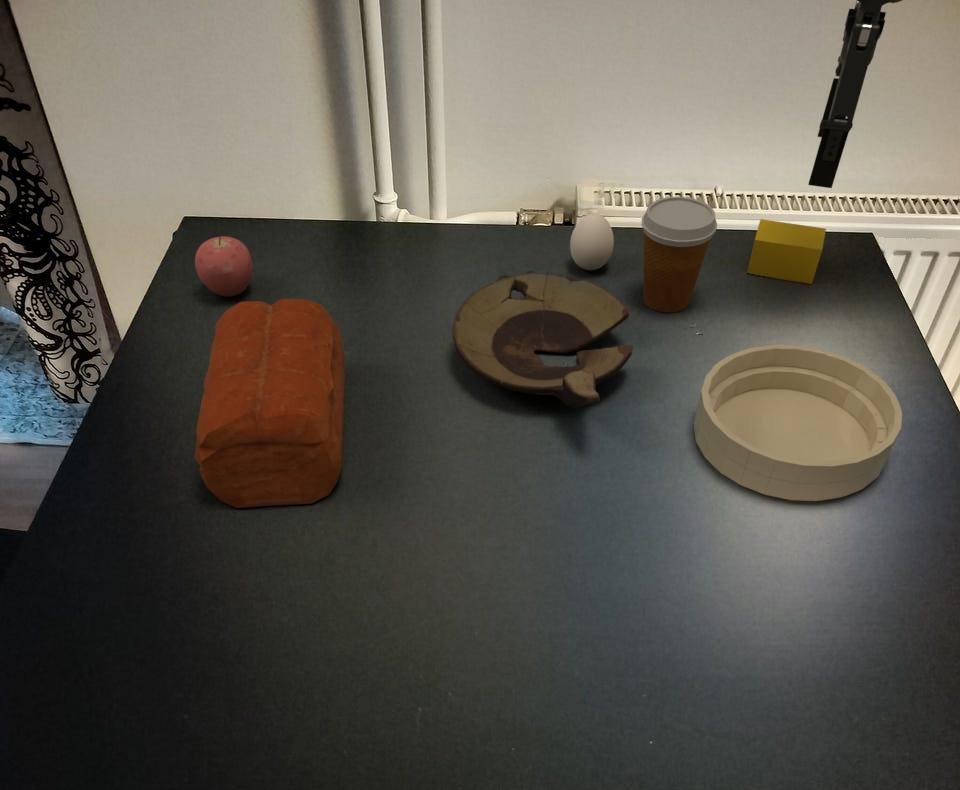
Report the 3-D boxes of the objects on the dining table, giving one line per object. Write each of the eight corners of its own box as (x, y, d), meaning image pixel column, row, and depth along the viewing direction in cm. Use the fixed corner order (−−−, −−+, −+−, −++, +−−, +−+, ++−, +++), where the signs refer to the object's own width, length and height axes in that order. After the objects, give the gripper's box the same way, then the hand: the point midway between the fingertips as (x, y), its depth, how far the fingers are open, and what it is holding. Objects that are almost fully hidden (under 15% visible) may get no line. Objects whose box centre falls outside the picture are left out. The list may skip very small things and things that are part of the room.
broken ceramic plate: (629, 310, 120) (636, 256, 114) (628, 456, 101) (637, 400, 95) (465, 302, 121) (464, 248, 115) (435, 444, 103) (431, 388, 97)
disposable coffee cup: (624, 312, 119) (635, 225, 110) (639, 276, 125) (651, 190, 116) (694, 325, 117) (712, 236, 108) (707, 287, 123) (725, 200, 114)
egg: (598, 283, 124) (604, 230, 118) (560, 271, 126) (564, 218, 120) (618, 264, 127) (624, 211, 121) (580, 252, 129) (585, 200, 123)
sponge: (815, 262, 127) (826, 228, 123) (811, 284, 123) (822, 249, 119) (752, 253, 129) (760, 218, 125) (746, 274, 125) (754, 239, 121)
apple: (265, 279, 125) (252, 224, 119) (249, 308, 121) (235, 252, 115) (214, 276, 126) (200, 220, 120) (197, 304, 122) (180, 248, 115)
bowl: (888, 402, 107) (905, 363, 103) (879, 523, 94) (898, 484, 90) (709, 370, 111) (718, 331, 107) (677, 481, 99) (686, 442, 94)
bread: (202, 511, 96) (175, 433, 88) (226, 366, 113) (205, 288, 105) (345, 503, 97) (332, 424, 89) (349, 359, 113) (337, 281, 105)
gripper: (855, -87, 101) (802, 115, 118) (841, -16, 86) (783, 202, 103) (924, -81, 99) (861, 122, 116) (922, -9, 85) (849, 212, 102)
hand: (824, 160), depth 110 cm, fingers open, 13 cm apart
